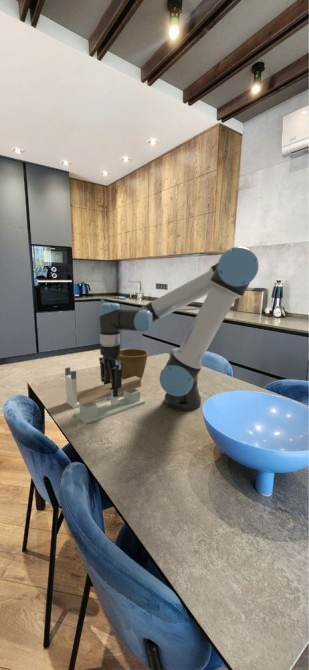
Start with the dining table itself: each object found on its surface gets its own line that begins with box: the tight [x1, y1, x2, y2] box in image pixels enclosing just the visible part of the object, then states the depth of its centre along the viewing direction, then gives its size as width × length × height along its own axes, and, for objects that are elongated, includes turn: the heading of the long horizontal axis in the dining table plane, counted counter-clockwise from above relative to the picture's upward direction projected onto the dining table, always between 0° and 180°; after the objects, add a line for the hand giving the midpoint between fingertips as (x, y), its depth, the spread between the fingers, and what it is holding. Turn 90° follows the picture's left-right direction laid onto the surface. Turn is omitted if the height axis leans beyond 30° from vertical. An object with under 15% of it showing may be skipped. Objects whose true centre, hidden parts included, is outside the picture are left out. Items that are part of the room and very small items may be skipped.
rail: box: [77, 376, 142, 405], centre depth 110 cm, size 4×27×4 cm, turn 131°
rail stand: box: [64, 361, 123, 409], centre depth 120 cm, size 7×23×15 cm, turn 131°
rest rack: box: [73, 388, 146, 425], centre depth 111 cm, size 9×27×5 cm, turn 131°
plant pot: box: [118, 348, 149, 380], centre depth 136 cm, size 15×15×16 cm
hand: (111, 401), depth 111 cm, fingers closed on rail, 3 cm apart
